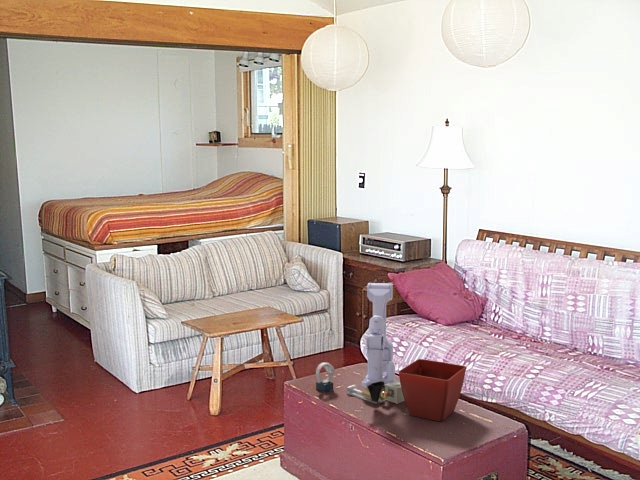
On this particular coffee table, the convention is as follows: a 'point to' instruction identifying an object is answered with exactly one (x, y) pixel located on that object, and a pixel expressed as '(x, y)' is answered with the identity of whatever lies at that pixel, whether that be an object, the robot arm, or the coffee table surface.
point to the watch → (324, 384)
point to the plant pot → (431, 388)
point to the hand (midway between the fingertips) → (374, 401)
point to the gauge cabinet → (397, 395)
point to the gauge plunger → (386, 394)
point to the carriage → (366, 393)
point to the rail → (360, 394)
